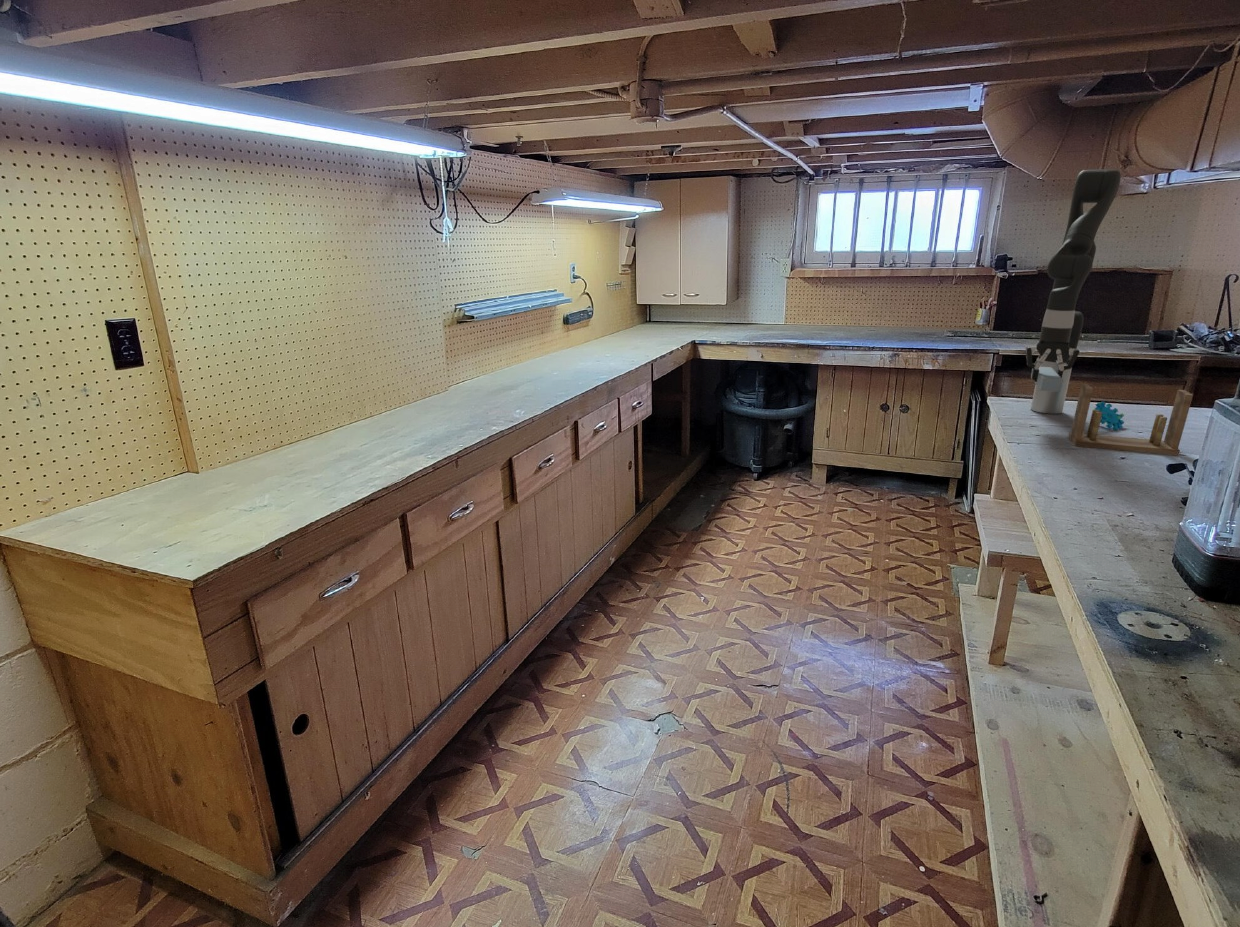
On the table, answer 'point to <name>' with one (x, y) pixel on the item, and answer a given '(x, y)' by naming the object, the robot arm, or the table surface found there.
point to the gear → (1110, 416)
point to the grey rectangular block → (1048, 380)
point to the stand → (1131, 444)
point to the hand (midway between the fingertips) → (1045, 381)
